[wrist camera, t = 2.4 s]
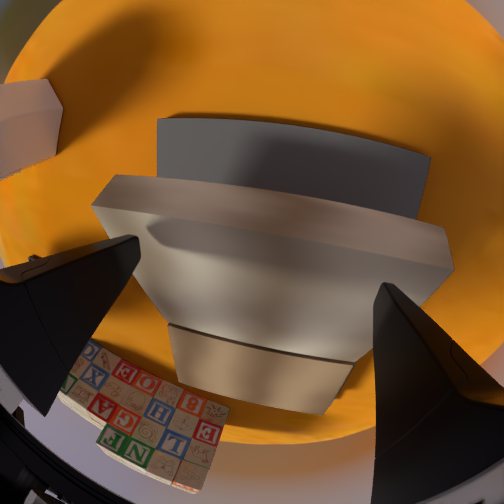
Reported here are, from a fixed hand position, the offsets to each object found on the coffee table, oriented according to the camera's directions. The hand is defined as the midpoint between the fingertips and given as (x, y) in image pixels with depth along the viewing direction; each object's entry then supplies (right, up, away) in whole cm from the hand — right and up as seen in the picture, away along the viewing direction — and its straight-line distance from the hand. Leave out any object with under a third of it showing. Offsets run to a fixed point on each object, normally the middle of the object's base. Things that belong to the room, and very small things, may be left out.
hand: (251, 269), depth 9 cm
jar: (-20, +13, +8) cm, 25 cm away
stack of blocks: (-13, -17, +22) cm, 31 cm away
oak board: (+1, -9, +13) cm, 16 cm away
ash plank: (+1, -1, +5) cm, 5 cm away
